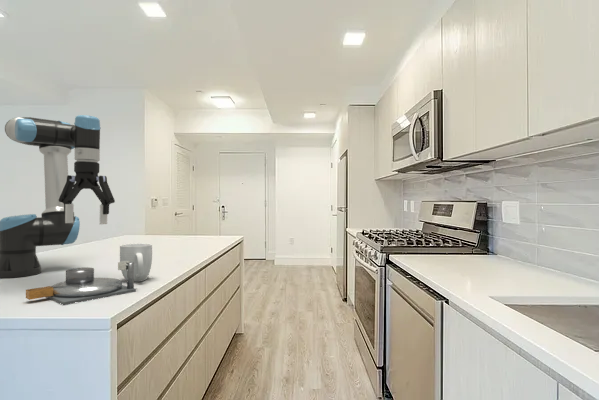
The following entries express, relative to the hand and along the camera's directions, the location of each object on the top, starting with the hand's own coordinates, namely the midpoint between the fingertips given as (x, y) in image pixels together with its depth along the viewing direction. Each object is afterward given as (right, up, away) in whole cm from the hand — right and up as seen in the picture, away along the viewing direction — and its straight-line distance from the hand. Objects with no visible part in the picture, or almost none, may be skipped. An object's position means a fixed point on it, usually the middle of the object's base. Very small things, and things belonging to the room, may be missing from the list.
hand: (86, 223), depth 128 cm
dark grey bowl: (+1, -19, -6) cm, 20 cm away
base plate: (+6, -21, -9) cm, 24 cm away
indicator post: (+16, -21, -6) cm, 28 cm away
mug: (+13, -22, +9) cm, 27 cm away
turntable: (+4, -20, -11) cm, 23 cm away
